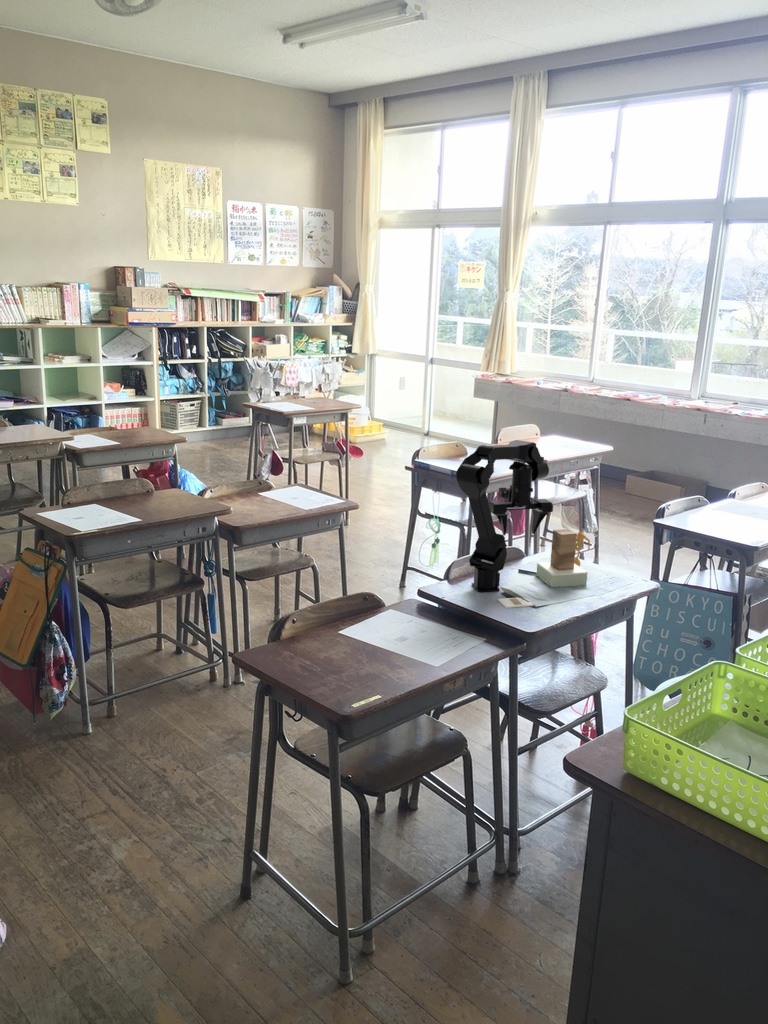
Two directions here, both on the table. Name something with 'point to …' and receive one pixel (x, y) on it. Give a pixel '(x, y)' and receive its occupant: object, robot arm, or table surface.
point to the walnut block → (563, 549)
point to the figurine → (580, 546)
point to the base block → (561, 575)
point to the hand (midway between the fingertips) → (518, 534)
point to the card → (514, 602)
